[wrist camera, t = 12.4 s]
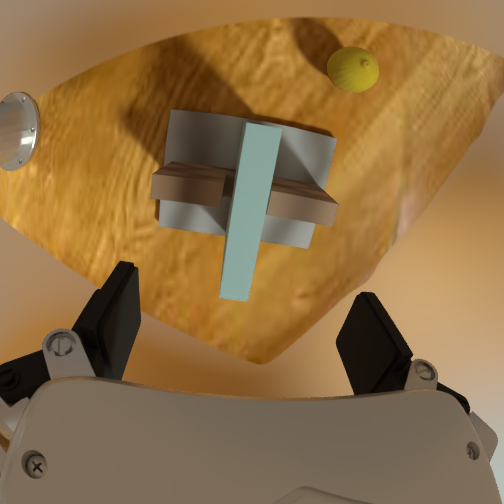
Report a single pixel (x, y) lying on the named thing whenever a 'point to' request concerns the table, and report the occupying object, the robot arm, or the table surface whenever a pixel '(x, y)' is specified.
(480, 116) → the table surface
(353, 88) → the lemon
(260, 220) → the notched plate
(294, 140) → the base
